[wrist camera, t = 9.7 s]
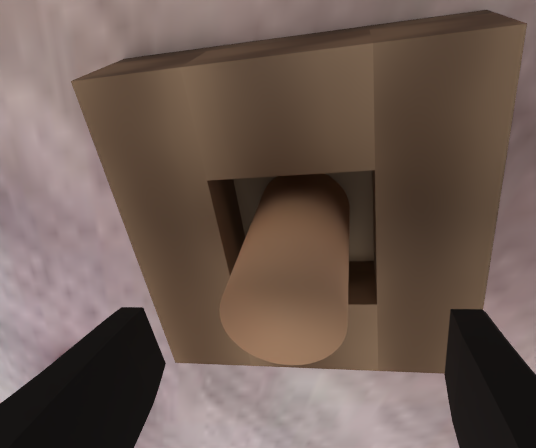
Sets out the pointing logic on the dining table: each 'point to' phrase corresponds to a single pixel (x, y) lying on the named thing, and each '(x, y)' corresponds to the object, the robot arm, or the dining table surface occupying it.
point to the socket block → (317, 171)
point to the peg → (292, 273)
